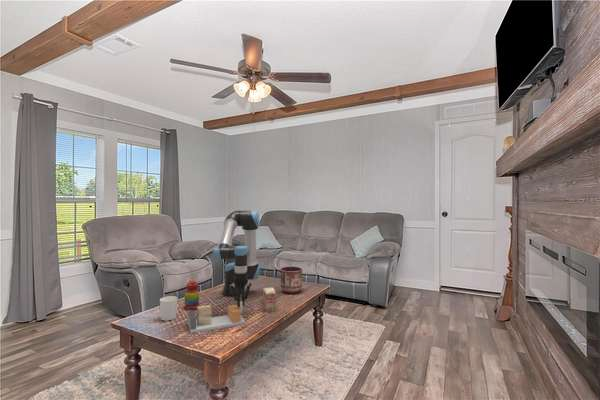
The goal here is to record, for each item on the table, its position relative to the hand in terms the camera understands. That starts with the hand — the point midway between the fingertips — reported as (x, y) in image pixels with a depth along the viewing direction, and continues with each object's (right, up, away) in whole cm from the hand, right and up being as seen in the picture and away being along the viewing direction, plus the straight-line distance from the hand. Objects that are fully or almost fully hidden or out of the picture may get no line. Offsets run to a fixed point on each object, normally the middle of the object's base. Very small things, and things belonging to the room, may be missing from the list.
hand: (240, 311), depth 181 cm
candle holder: (-44, -5, +1) cm, 44 cm away
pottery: (+29, -6, +57) cm, 64 cm away
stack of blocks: (+15, -6, +24) cm, 28 cm away
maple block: (-19, -3, -9) cm, 21 cm away
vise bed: (-13, -5, -6) cm, 15 cm away
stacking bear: (-36, -5, +21) cm, 42 cm away
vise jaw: (-4, -3, -2) cm, 5 cm away
